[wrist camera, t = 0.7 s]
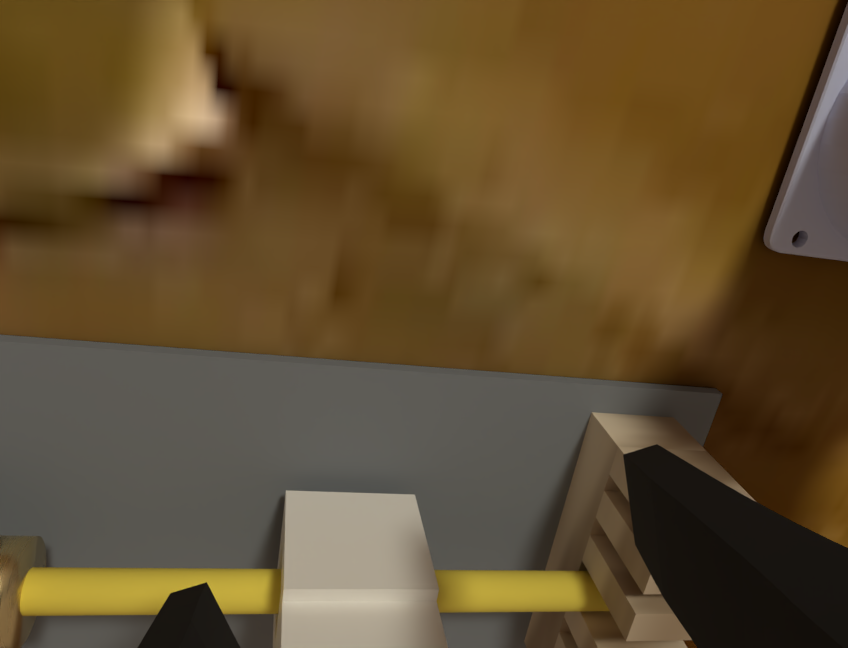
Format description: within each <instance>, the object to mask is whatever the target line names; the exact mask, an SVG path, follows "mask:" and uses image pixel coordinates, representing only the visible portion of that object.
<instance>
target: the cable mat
mask: <svg viewBox="0 0 848 648" xmlns="http://www.w3.org/2000/svg"><path fill="white" fill-rule="evenodd" d="M721 397H722V393H721V392H720V391H718V390H717V389H716V388H704V387H691V386H677V385H664V384H651V383H637V382H624V381H611V380H598V379H584V378H571V377H558V376H544V375H531V374H518V373H504V372H491V371H478V370H464V369H451V368H438V367H424V366H411V365H398V364H384V363H371V362H358V361H344V360H331V359H318V358H304V357H291V356H278V355H264V354H251V353H238V352H224V351H211V350H198V349H185V348H171V347H158V346H145V345H131V344H118V343H105V342H91V341H78V340H65V339H51V338H38V337H25V336H11V335H0V535H9V536H40V537H42V539H43V540H44V543H45V548H46V567H72V568H227V569H277V567H278V558H279V549H280V539H281V530H282V521H283V512H284V503H285V494H286V490H288V491H319V492H351V493H382V494H414V495H415V497H416V501H417V505H418V509H419V513H420V516H421V520H422V524H423V528H424V532H425V536H426V540H427V544H428V548H429V551H430V555H431V559H432V563H433V567H434V570H537V571H545V569H546V565H547V562H548V559H549V555H550V552H551V548H552V545H553V542H554V538H555V535H556V532H557V528H558V525H559V521H560V518H561V515H562V511H563V508H564V504H565V501H566V498H567V494H568V491H569V487H570V484H571V481H572V477H573V474H574V470H575V467H576V464H577V460H578V457H579V453H580V450H581V447H582V443H583V440H584V436H585V433H586V430H587V426H588V423H589V420H590V416H591V413H592V412H595V413H611V414H627V415H643V416H658V417H674V418H675V419H676V420H677V421H678V422H679V423H680V424H681V425H682V426H683V427H684V428H685V429H686V431H687V432H688V433H689V434H690V435H691V436H692V437H693V438H694V439H695V440H696V441H697V442H698V443H699V444H700V445H701V446H702V447H703V446H704V443H705V440H706V437H707V435H708V432H709V429H710V427H711V424H712V421H713V419H714V416H715V413H716V411H717V408H718V405H719V403H720V400H721ZM532 613H533V612H456V613H440V617H441V621H442V625H443V629H444V633H445V637H446V641H447V645H448V648H526V645H525V642H524V640H525V637H526V633H527V630H528V627H529V623H530V620H531V616H532ZM223 615H224V617H225V619H226V621H227V623H228V624H229V626H230V628H231V630H232V632H233V634H234V636H235V638H236V640H237V642H238V644H239V646H240V648H273V623H274V614H223ZM156 616H157V615H84V616H36V619H35V622H34V625H33V627H32V630H31V632H30V634H29V636H28V638H27V640H26V641H25V643H24V644H23V645H22V647H21V648H138V646H139V644H140V643H141V641H142V639H143V638H144V636H145V634H146V633H147V631H148V629H149V628H150V626H151V624H152V623H153V621H154V619H155V618H156Z"/></svg>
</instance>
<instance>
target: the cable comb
mask: <svg viewBox="0 0 848 648" xmlns="http://www.w3.org/2000/svg"><path fill="white" fill-rule="evenodd" d="M656 444H658V445H659V446H661V447H663V448H665V449H666V450H668V451H670V452H671V453H673V454H675V455H676V456H678V457H680V458H681V459H683V460H685V461H687V462H688V463H690V464H692V465H693V466H695V467H697V468H698V469H700V470H702V471H703V472H705V473H707V474H708V475H710V476H712V477H713V478H715V479H717V480H719V481H720V482H722V483H724V484H725V485H727V486H729V487H730V488H732V489H734V490H736V491H737V492H739V493H741V494H743V495H744V496H746V497H748V498H750V499H752V500H754V499H753V498H752V497H751V496H750V495H749V494H748V493H747V492H746V491H745V490H744V489H743V488H742V487H741V486H740V485H739V484H738V483H737V482H736V481H735V480H734V479H733V478H732V477H731V475H730V474H729V473H728V472H727V471H726V470H725V469H724V468H723V467H722V466H721V465H720V464H719V463H718V462H717V461H716V460H715V459H714V458H713V457H712V456H711V455H710V454H709V453H708V452H707V451H706V450H705V449H704V448H703V447H702V446H701V445H700V444H699V443H698V442H697V441H696V440H695V439H694V438H693V437H692V436H691V435H690V434H689V433H688V432H687V431H686V429H685V428H684V427H683V426H682V425H681V424H680V423H679V422H678V421H677V420H676V419H675V418H674V417H658V416H643V415H627V414H611V413H595V412H592V413H591V416H590V420H589V423H588V426H587V430H586V433H585V436H584V440H583V443H582V447H581V450H580V453H579V457H578V460H577V464H576V467H575V470H574V474H573V477H572V481H571V484H570V487H569V491H568V494H567V498H566V501H565V504H564V508H563V511H562V515H561V518H560V521H559V525H558V528H557V532H556V535H555V538H554V542H553V545H552V548H551V552H550V555H549V559H548V562H547V565H546V569H545V571H588V572H589V574H590V576H591V578H592V580H593V581H594V583H595V585H596V587H597V589H598V591H599V592H600V594H601V596H602V598H603V600H604V602H605V604H606V605H607V607H608V609H609V611H581V612H533V613H532V616H531V620H530V623H529V627H528V630H527V633H526V637H525V640H524V642H525V645H526V648H687V646H686V645H685V643H684V641H683V640H692V639H691V637H690V636H689V635H688V633H687V632H686V630H685V629H684V627H683V626H682V624H681V623H680V621H679V620H678V619H677V617H676V616H675V614H674V613H673V611H672V610H671V608H670V607H669V605H668V604H667V602H666V601H665V599H664V598H663V596H662V594H661V592H660V591H659V589H658V587H657V585H656V583H655V581H654V580H653V578H652V576H651V574H650V572H649V570H648V568H647V566H646V565H645V563H644V561H643V559H642V557H641V555H640V553H639V551H638V549H637V547H636V545H635V541H634V533H633V526H632V518H631V511H630V503H629V496H628V488H627V481H626V473H625V466H624V458H623V454H627V453H630V452H633V451H636V450H640V449H643V448H646V447H649V446H653V445H656ZM754 501H755V500H754ZM755 502H756V501H755Z"/></svg>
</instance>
